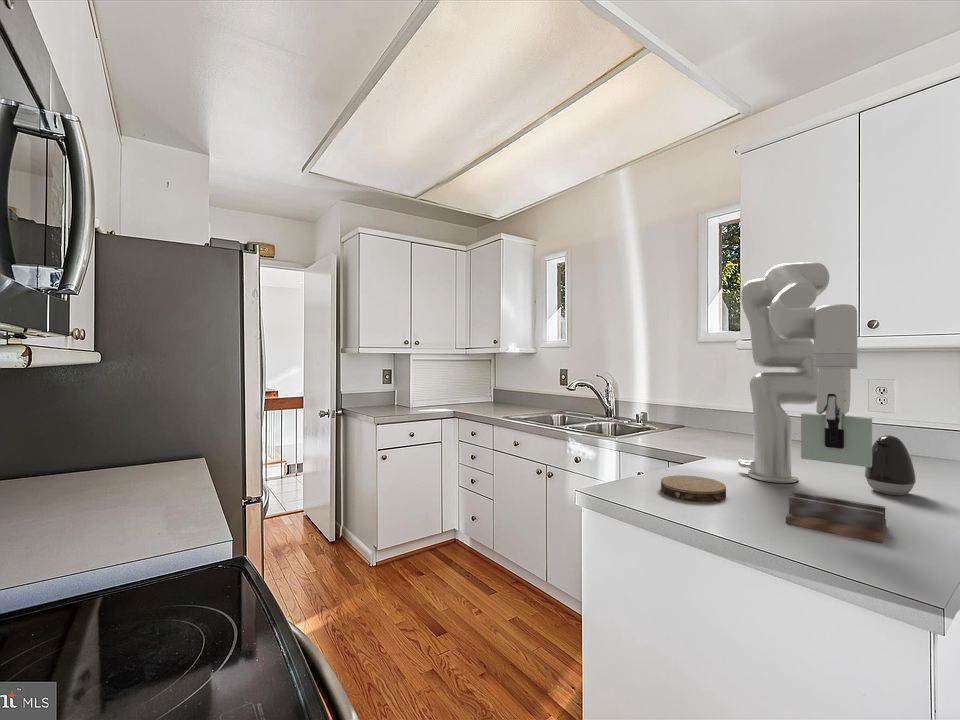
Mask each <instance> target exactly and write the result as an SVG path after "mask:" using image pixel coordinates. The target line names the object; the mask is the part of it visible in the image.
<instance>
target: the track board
mask: <svg viewBox="0 0 960 720" xmlns="http://www.w3.org/2000/svg"><path fill="white" fill-rule="evenodd" d="M785 524H789V525H794V526H798V527H803V528H808V529H812V530H818V531H822V532H826V533H831V534H837V535H841V536H845V537H850V538H856V539H861V540H863V541H864V540H866V541H870V542H875V543H879V544H883V542H884V537H885V533H886V528H887V519H886V506H882V505H878V504H877V505H876V504H870V503H867V502H866V503H865V502H860V501H852V500H848V499H842V498H834V497H831V496H830V497H828V496H822V495H817V494H810V493H805V492H800V491H793V493H792V495H789V496H788V513H787V514H786V516H785Z"/></svg>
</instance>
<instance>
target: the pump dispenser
mask: <svg viewBox="0 0 960 720" xmlns="http://www.w3.org/2000/svg"><path fill="white" fill-rule="evenodd" d="M905 445H906V444H904V443H903V441H902V440H901V439H900V438H899V437H897V436H894V435H882V436H880V437H878V438H877V439H876V440H875V442H874V443H872V467H864V478H865V480H866V481H867V484H868V485H869V487H871V489H872V490H874V491H876V492H878V493H880V492H881V493H880V494H884V493H885V495H889V494H891V495H890V496H902V495H903V496H904V495H906V494H908V493H910V492H911V491H912V490H913V488H914V486H915V484H916V483H917V478H916V472H915V471H916V470H915V467H914V463H913V460H912V458H911V455H910V453H909V451H908V449H907V447H906V446H905Z"/></svg>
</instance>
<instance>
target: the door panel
mask: <svg viewBox="0 0 960 720" xmlns="http://www.w3.org/2000/svg"><path fill="white" fill-rule="evenodd" d="M825 415H826V414H824V413H822V414H818V413H809V412H808V413H807V412H806V413H805V412H803V413H801V414H800V459H802V460H810V461H817V462H825V463H826V462H827V463H834V464H840V465H847V466H849V465H850V466H857V467H863V468H865V467H872V446H873V417H863V416H849V415H845V416H842V430H844V448H843V449H839V448H829V447H826V446H825V428H826V416H825Z"/></svg>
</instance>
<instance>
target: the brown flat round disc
mask: <svg viewBox="0 0 960 720" xmlns="http://www.w3.org/2000/svg"><path fill="white" fill-rule="evenodd" d="M660 490H661V491H660V492H661V493H662V494H663V495H665V496H667V497H670V498H673V499H675V500H681V501H686V502H691V503H716V502H718V503H719V502H721V501H724V500H725V499H726V497H727V486H726V484H725V483H723V482H721V481H719V480H715V479H714V478H713V479H712V478H708V477H704V476H703V477H702V476H697V475H685V474H684V475H683V474H682V475H680V474H678V475H676V474H675V475H668V476H665V477H663V478H661V479H660Z"/></svg>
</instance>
